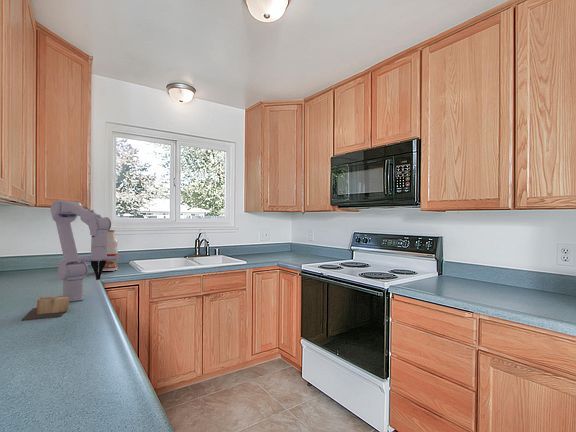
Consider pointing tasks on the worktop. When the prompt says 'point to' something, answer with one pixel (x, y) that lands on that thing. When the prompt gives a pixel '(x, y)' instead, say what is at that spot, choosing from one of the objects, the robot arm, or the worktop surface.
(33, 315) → the rubber mat
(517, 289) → the worktop surface
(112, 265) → the fruit juice
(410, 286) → the worktop surface
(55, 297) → the maple block
